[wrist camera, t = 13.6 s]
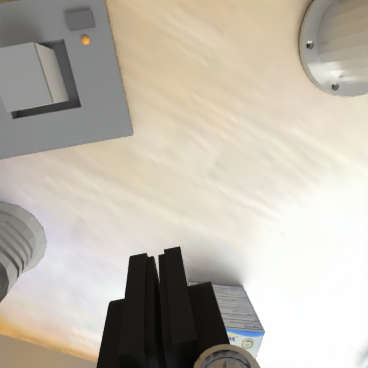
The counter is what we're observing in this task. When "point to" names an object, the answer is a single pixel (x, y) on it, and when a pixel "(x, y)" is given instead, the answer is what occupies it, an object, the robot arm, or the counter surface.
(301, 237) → the counter surface
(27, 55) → the plug
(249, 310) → the medicine box
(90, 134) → the socket plate
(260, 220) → the counter surface
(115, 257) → the counter surface
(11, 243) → the french press
